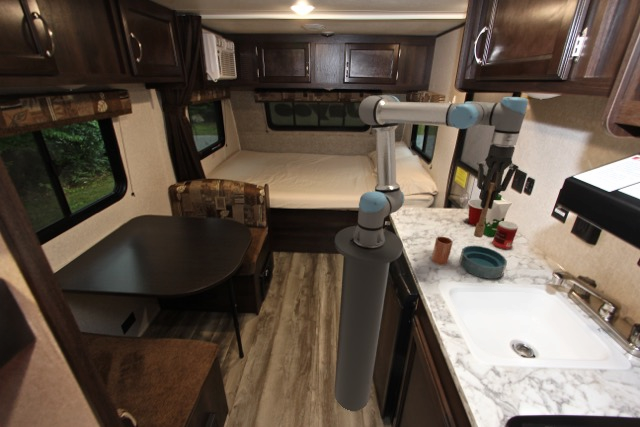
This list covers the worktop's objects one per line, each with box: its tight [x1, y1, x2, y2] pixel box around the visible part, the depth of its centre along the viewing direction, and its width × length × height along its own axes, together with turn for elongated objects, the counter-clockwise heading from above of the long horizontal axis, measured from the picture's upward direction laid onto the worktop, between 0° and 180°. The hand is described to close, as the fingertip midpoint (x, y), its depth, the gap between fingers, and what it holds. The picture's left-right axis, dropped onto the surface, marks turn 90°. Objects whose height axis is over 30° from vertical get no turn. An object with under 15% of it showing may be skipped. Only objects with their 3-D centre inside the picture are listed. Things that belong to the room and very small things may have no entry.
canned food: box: [492, 220, 519, 250], centre depth 136 cm, size 8×8×11 cm
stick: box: [473, 182, 495, 238], centre depth 111 cm, size 3×3×22 cm
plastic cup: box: [467, 198, 483, 226], centre depth 156 cm, size 11×11×12 cm
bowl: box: [458, 245, 508, 279], centre depth 120 cm, size 16×16×6 cm
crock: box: [431, 236, 454, 266], centre depth 123 cm, size 6×6×10 cm
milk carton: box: [483, 193, 512, 237], centre depth 145 cm, size 9×9×20 cm
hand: (485, 207), depth 111 cm, fingers closed on stick, 2 cm apart
